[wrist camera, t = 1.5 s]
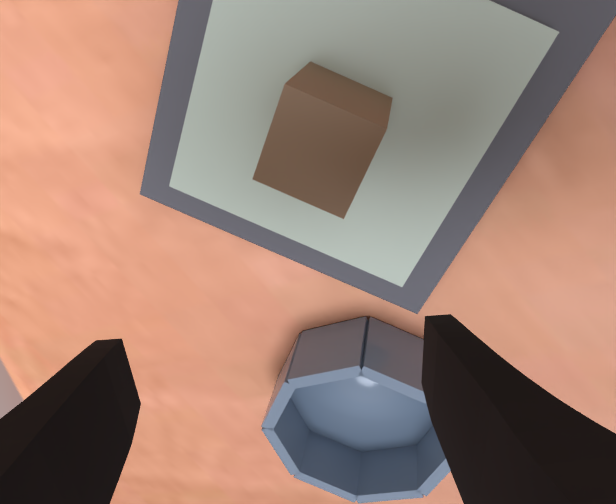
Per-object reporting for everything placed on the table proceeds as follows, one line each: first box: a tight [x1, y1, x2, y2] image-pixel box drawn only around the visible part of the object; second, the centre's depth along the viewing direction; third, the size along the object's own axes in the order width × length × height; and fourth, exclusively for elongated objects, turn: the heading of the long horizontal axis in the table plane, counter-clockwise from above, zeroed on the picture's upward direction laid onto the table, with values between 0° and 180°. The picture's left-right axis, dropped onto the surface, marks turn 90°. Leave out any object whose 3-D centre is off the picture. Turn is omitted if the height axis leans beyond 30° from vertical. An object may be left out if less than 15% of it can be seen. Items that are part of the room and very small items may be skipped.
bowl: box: [261, 316, 451, 503], centre depth 25 cm, size 9×9×4 cm
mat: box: [140, 0, 616, 314], centre depth 19 cm, size 14×14×1 cm
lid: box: [169, 0, 559, 287], centre depth 17 cm, size 11×11×5 cm
